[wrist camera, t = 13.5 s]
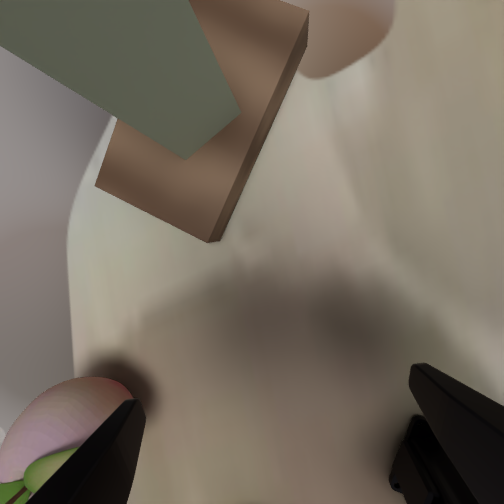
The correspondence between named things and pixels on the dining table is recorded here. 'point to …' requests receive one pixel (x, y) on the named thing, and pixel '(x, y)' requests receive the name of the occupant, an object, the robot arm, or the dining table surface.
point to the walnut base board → (231, 136)
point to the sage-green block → (128, 63)
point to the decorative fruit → (53, 432)
